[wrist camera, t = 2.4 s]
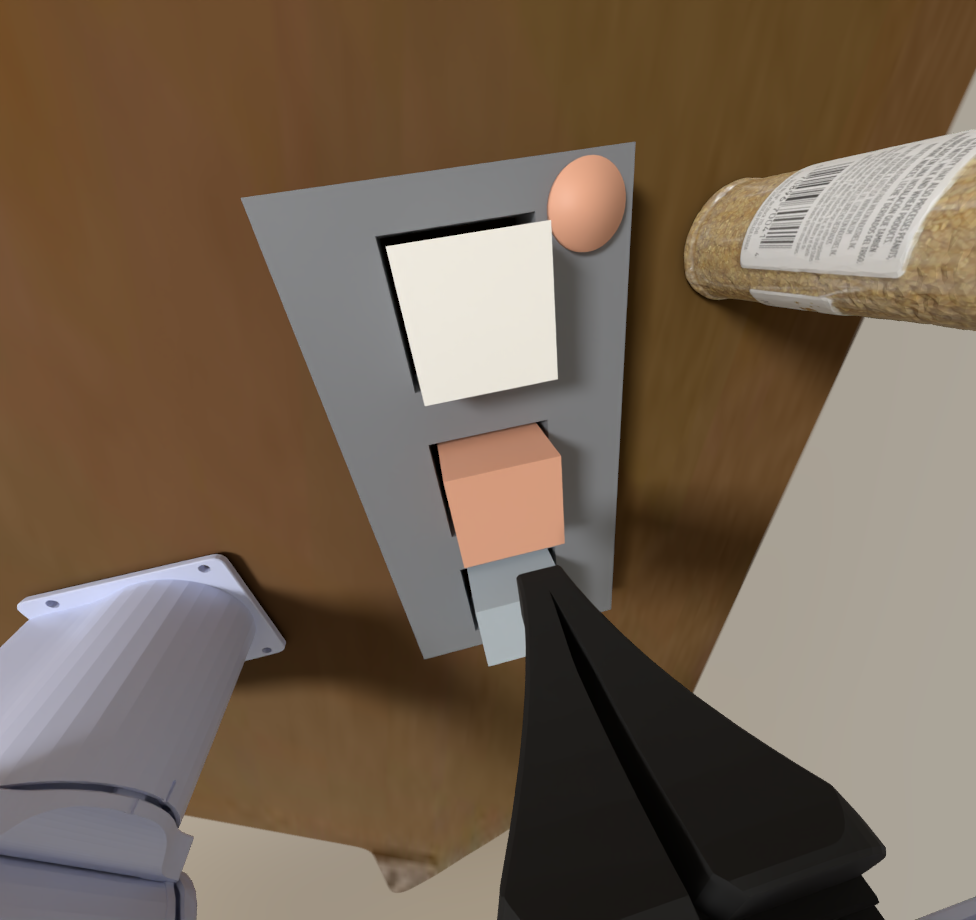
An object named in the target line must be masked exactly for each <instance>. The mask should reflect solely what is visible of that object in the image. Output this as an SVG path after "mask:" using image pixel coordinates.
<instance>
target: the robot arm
mask: <svg viewBox="0 0 976 920" xmlns="http://www.w3.org/2000/svg"><path fill="white" fill-rule="evenodd" d="M204 565H206V566H209V567H206V566H204ZM516 580H517V587H518V594H519V601H520V608H521V615H522V619H523V623H524V627H525V641H526V675H525V699H524V715H523V727H522V738H521V749H520V758H519V767H518V774H517V782H516V789H515V797H514V804H513V811H512V818H511V825H510V831H509V838H508V843H507V849H506V855H505V860H504V866H503V873H502V878H501V884H500V896H499V907H498V917H497V920H884V918H883V917H882V915H881V914H880V913H879V911H878V910H877V908H876V907H875V905H876V904H878V903H879V901H878V898H877V896H876V895H875V893H874V892H873V891H872V889H871V888H870V886H869V885H868V884H867V882H866V881H865V880H864V878H863V877H862V874H863V873H864V872H866V871H867V870H869V869H870V868H872V867H873V866H874V865H876V864H877V863H879V862H880V861H881V860H883V859H884V858H885V856H886V847H885V846H884V845H883V844H882V842H881V841H880V840H879V838H878V837H877V836H876V835H875V834H874V832H873V831H872V830H871V829H870V827H869V826H868V825H867V824H866V822H865V821H864V820H863V819H862V818H861V816H860V815H859V814H858V813H857V812H856V811H855V810H854V809H853V808H852V807H851V806H850V804H849V803H848V802H847V801H846V800H845V799H844V798H843V797H842V796H841V795H840V794H839V793H838V791H837V790H836V789H834V787H833V786H832V785H831V784H829V783H827V782H826V781H824V780H823V779H821V778H819V777H818V776H816V775H814V774H813V773H811V772H809V771H808V770H806V769H804V768H803V767H801V766H799V765H798V764H796V763H795V762H793V761H791V760H790V759H788V758H787V757H785V756H784V755H782V754H780V753H779V752H777V751H776V750H774V749H772V748H771V747H769V746H768V745H766V744H765V743H763V742H762V741H760V740H759V739H757V738H756V737H754V736H753V735H751V734H750V733H748V732H747V731H745V730H744V729H742V728H741V727H739V726H738V725H736V724H735V723H733V722H732V721H731V720H729V719H728V718H726V717H725V716H724V715H722V714H721V713H719V712H718V711H717V710H715V709H714V708H712V707H711V706H710V705H708V704H707V703H705V702H704V701H703V700H701V699H700V698H699V697H697V696H696V695H694V694H693V693H692V692H690V691H689V690H688V689H687V688H685V687H684V686H683V685H682V684H680V683H679V682H678V681H676V680H675V679H674V678H673V677H671V676H670V675H669V674H668V673H666V672H665V671H664V670H663V669H662V668H660V667H659V666H658V665H657V664H656V663H654V662H653V661H652V660H651V659H650V658H649V657H647V656H646V655H645V654H644V653H643V652H642V651H641V650H639V649H638V648H637V647H636V646H635V645H634V644H633V643H632V642H631V641H630V640H629V639H627V638H626V637H625V636H624V635H623V634H622V633H621V632H620V631H619V630H618V629H617V628H616V627H615V626H614V625H613V624H612V623H611V622H610V621H609V620H608V619H607V618H606V617H605V616H604V615H603V614H602V613H601V612H600V611H599V610H598V609H597V608H596V607H595V606H594V605H593V604H592V603H591V601H590V600H589V599H588V598H587V597H586V596H585V595H584V594H583V593H582V591H581V590H580V589H579V588H578V587H577V586H576V585H575V583H574V582H573V581H572V580H571V579H570V577H569V576H568V575H567V574H566V572H565V571H564V570H563V568H562V567H561V566H559V565H555V566H551V567H547V568H543V569H539V570H535V571H531V572H527V573H523V574H519V575H518V576H517V578H516ZM17 609H18V610H19V611H20V612H21V613H22V614H23V615H24V616H26V617H27V618H28V619H29V620H28V621H27V622H26V623H25V624H24V625H23V626H22V627H21V628H20V629H19V630H18V631H17V632H16V633H15V634H14V635H13V636H12V637H11V638H10V639H9V640H8V641H7V642H6V643H5V644H4V645H2V646H1V647H0V920H196V916H197V900H196V891H195V888H194V885H193V882H192V880H191V879H190V878H189V876H188V875H187V874H186V873H184V872H182V869H183V866H184V864H185V861H186V858H187V855H188V853H189V850H190V847H191V844H192V842H193V836H191V835H188V834H185V833H183V832H181V831H180V830H179V829H178V828H179V826H180V824H181V821H182V818H183V816H184V814H185V811H186V809H187V806H188V803H189V801H190V798H191V796H192V793H193V791H194V788H195V786H196V783H197V781H198V778H199V776H200V773H201V771H202V768H203V766H204V763H205V760H206V758H207V755H208V753H209V750H210V748H211V745H212V743H213V740H214V738H215V735H216V733H217V730H218V728H219V725H220V722H221V720H222V717H223V715H224V712H225V710H226V707H227V705H228V702H229V700H230V697H231V695H232V692H233V690H234V687H235V685H236V682H237V679H238V677H239V674H240V672H241V669H242V667H243V664H244V662H245V661H247V660H251V659H255V658H259V657H263V656H267V655H271V654H275V653H279V652H281V651H283V650H284V648H285V645H286V641H285V639H284V638H283V636H282V635H281V634H280V632H279V631H278V629H277V628H276V626H275V625H274V624H273V622H272V621H271V619H270V618H269V617H268V615H267V614H266V612H265V611H264V609H263V608H262V607H261V605H260V604H259V602H258V601H257V600H256V598H255V597H254V595H253V594H252V592H251V591H250V590H249V588H248V587H247V585H246V584H245V583H244V581H243V580H242V578H241V577H240V575H239V574H238V573H237V571H236V570H235V568H234V567H233V566H232V564H231V563H230V561H229V560H228V559H227V558H226V557H225V556H223V555H220V554H212V555H208V556H204V557H199V558H195V559H190V560H186V561H182V562H177V563H173V564H169V565H164V566H160V567H156V568H151V569H147V570H142V571H138V572H134V573H129V574H125V575H121V576H116V577H112V578H108V579H103V580H99V581H95V582H90V583H86V584H81V585H77V586H73V587H68V588H64V589H60V590H55V591H51V592H47V593H42V594H38V595H34V596H29V597H26V598H24V599H23V600H22V601H21V602H20V603H19V604H18V605H17ZM916 920H976V897H973V898H971V899H968V900H965V901H963V902H960V903H958V904H955V905H952V906H950V907H947V908H945V909H942V910H939V911H937V912H934V913H931V914H929V915H926V916H923V917H921V918H918V919H916Z"/></svg>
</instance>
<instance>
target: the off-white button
mask: <svg viewBox="0 0 976 920" xmlns="http://www.w3.org/2000/svg"><path fill="white" fill-rule="evenodd" d="M386 250H387V254H388V258H389V262H390V267H391V271H392V275H393V279H394V283H395V287H396V291H397V295H398V299H399V303H400V307H401V311H402V316H403V320H404V324H405V328H406V332H407V336H408V340H409V344H410V348H411V352H412V356H413V360H414V364H415V369H416V373H417V377H418V381H419V385H420V389H421V393H422V397H423V401H424V405H425V406H429V405H434V404H438V403H443V402H448V401H453V400H458V399H463V398H468V397H473V396H478V395H483V394H488V393H492V392H497V391H502V390H507V389H512V388H517V387H522V386H527V385H532V384H537V383H542V382H546V381H551V380H556V379H558V371H557V347H556V323H555V300H554V276H553V252H552V229H551V220H547V221H541V222H535V223H528V224H522V225H516V226H510V227H504V228H497V229H491V230H485V231H479V232H472V233H466V234H460V235H454V236H447V237H441V238H435V239H429V240H423V241H416V242H410V243H404V244H398V245H391V246H386Z"/></svg>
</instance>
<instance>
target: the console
mask: <svg viewBox="0 0 976 920" xmlns="http://www.w3.org/2000/svg"><path fill="white" fill-rule="evenodd" d="M634 160H635V142H630V143H623V144H616V145H609V146H602V147H595V148H588V149H581V150H574V151H567V152H560V153H553V154H546V155H539V156H532V157H525V158H518V159H511V160H504V161H497V162H490V163H483V164H476V165H469V166H462V167H455V168H448V169H441V170H434V171H427V172H420V173H413V174H406V175H399V176H392V177H385V178H378V179H371V180H364V181H357V182H350V183H343V184H336V185H329V186H322V187H315V188H308V189H301V190H294V191H287V192H280V193H273V194H266V195H259V196H252V197H245V198H241V200H242V203H243V205H244V208H245V210H246V213H247V215H248V218H249V220H250V223H251V225H252V228H253V230H254V233H255V235H256V238H257V240H258V243H259V245H260V248H261V250H262V253H263V255H264V258H265V260H266V263H267V265H268V268H269V270H270V273H271V276H272V278H273V281H274V283H275V286H276V288H277V291H278V293H279V296H280V298H281V301H282V303H283V306H284V308H285V311H286V313H287V316H288V318H289V321H290V323H291V326H292V328H293V331H294V333H295V336H296V338H297V341H298V343H299V346H300V348H301V351H302V353H303V356H304V358H305V361H306V363H307V366H308V368H309V371H310V373H311V376H312V378H313V381H314V384H315V386H316V389H317V391H318V394H319V396H320V399H321V401H322V404H323V406H324V409H325V411H326V414H327V416H328V419H329V421H330V424H331V426H332V429H333V431H334V434H335V436H336V439H337V441H338V444H339V446H340V449H341V451H342V454H343V456H344V459H345V461H346V464H347V466H348V469H349V471H350V474H351V476H352V479H353V481H354V484H355V486H356V489H357V491H358V494H359V497H360V499H361V502H362V504H363V507H364V509H365V512H366V514H367V517H368V519H369V522H370V524H371V527H372V529H373V532H374V534H375V537H376V539H377V542H378V544H379V547H380V549H381V552H382V554H383V557H384V559H385V562H386V564H387V567H388V569H389V572H390V574H391V577H392V579H393V582H394V584H395V587H396V589H397V592H398V594H399V597H400V599H401V602H402V605H403V607H404V610H405V612H406V615H407V617H408V620H409V622H410V625H411V627H412V630H413V632H414V635H415V637H416V640H417V642H418V645H419V647H420V650H421V652H422V655H423V657H424V659H428V658H432V657H435V656H439V655H443V654H447V653H450V652H454V651H458V650H461V649H465V648H469V647H473V646H476V645H480V644H483V642H482V638H481V634H480V630H479V625H478V621H477V617H476V613H475V608H474V603H473V598H472V596H471V597H469V593H468V589H467V585H466V581H465V577H464V573H463V569H466V568H464V564H463V560H462V556H461V552H460V548H459V544H458V540H457V536H456V532H455V528H454V524H453V519H452V515H451V511H450V507H447V505H446V501H445V497H444V493H443V489H442V485H441V481H440V477H439V473H438V469H437V465H436V461H435V457H434V453H433V449H432V445H431V444H436V443H440V442H445V441H450V440H454V439H459V438H464V437H468V436H473V435H478V434H482V433H487V432H492V431H496V430H501V429H506V428H510V427H515V426H520V425H525V424H529V423H534V422H536V423H537V425H538V426H539V427H540V429H541V430H542V431H543V433H544V434H545V435H546V437H547V438H548V439H549V441H550V442H551V443H552V445H553V446H554V447H555V448H556V450H557V451H558V452H559V454H560V455H561V466H562V489H563V513H564V537H565V543H564V544H560V545H556V546H552V547H548V548H544V549H548V551H549V553H550V555H551V557H552V559H553V561H554V563H555V565H559V566H561V567H562V568H563V570H564V571H565V572H566V574H567V575H568V576H569V577H570V579H571V580H572V581H573V582H574V583H575V585H576V586H577V587H578V588H579V589H580V590H581V591H582V593H583V594H584V595H585V596H586V597H587V598H588V599H589V600H590V601H591V603H592V604H593V605H594V606H595V607H596V608H597V609H598V610H599V611H600V612H602V611H606V610H610V609H611V599H612V580H613V561H614V542H615V523H616V504H617V485H618V465H619V446H620V427H621V408H622V389H623V370H624V351H625V332H626V313H627V294H628V275H629V256H630V237H631V218H632V199H633V180H634ZM515 217H516V225H522V224H528V223H535V222H541V221H547V220H551V229H552V252H553V276H554V300H555V323H556V347H557V371H558V379H556V380H551V381H546V382H542V383H537V384H532V385H527V386H522V387H517V388H512V389H507V390H502V391H497V392H492V393H488V394H483V395H478V396H473V397H468V398H463V399H458V400H453V401H448V402H443V403H438V404H434V405H429V406H425V405H424V401H423V397H422V393H421V389H420V385H419V381H418V377H417V374H414V373H413V369H412V365H411V361H410V357H409V353H408V349H407V345H406V341H405V337H404V333H403V329H402V325H401V321H400V317H399V313H398V309H397V305H396V301H395V297H394V293H393V289H392V285H391V281H390V277H389V273H388V269H387V265H386V261H385V257H384V253H383V249H382V245H381V241H380V239H382V238H388V237H395V236H401V235H407V234H414V233H420V232H426V231H433V230H439V229H445V228H452V227H458V226H464V225H471V224H477V223H483V222H489V221H496V220H502V219H508V218H515ZM540 550H543V549H540ZM536 551H539V550H536ZM532 552H535V551H532ZM528 553H531V552H528ZM524 554H527V553H524ZM520 555H523V554H520ZM516 556H519V555H516ZM512 557H515V556H512ZM508 558H511V557H508ZM504 559H506V558H504ZM500 560H502V559H500ZM496 561H498V560H496ZM492 562H494V561H492ZM488 563H490V562H488ZM484 564H486V563H484ZM480 565H482V564H480ZM476 566H478V565H476ZM472 567H474V566H472ZM468 568H470V567H468Z"/></svg>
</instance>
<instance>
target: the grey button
mask: <svg viewBox="0 0 976 920" xmlns="http://www.w3.org/2000/svg"><path fill="white" fill-rule="evenodd" d="M551 566H555V563H554V561H553V559H552V557H551V555H550V553H549V551H548V549H543V550H539V551H535V552H531V553H527V554H523V555H519V556H515V557H511V558H506V559H502V560H498V561H494V562H490V563H486V564H482V565H478V566H474V567H470V568H467V571H468V577H469V582H470V587H471V592H472V598H473V603H474V608H475V613H476V617H477V621H478V625H479V630H480V634H481V638H482V642H483V646H484V650H485V654H486V658H487V662H488V666H492V665H496V664H500V663H503V662H507V661H511V660H514V659H518V658H521V657H525V656H526V641H525V627H524V623H523V619H522V615H521V608H520V601H519V594H518V587H517V580H516V578H517V576H518V575H519V574H523V573H527V572H531V571H535V570H539V569H543V568H547V567H551Z"/></svg>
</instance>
